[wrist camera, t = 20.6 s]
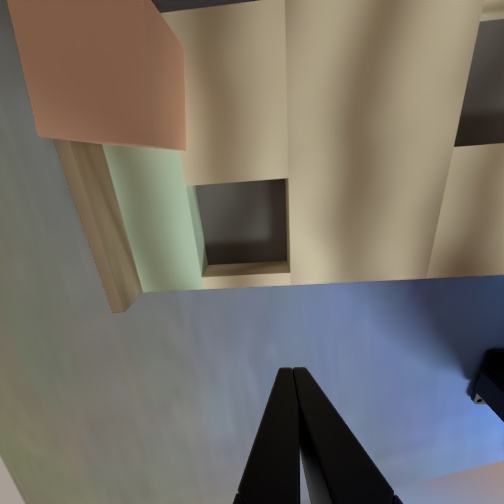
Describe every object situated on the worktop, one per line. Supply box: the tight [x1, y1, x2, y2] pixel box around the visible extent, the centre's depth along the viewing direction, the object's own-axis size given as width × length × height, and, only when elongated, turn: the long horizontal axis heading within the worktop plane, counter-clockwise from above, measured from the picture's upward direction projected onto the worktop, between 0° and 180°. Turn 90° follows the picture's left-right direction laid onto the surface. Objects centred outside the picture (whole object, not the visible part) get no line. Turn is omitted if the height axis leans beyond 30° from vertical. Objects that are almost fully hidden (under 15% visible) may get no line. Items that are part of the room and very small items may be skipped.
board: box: [6, 0, 504, 313], centre depth 14 cm, size 30×16×5 cm, turn 94°
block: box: [7, 0, 186, 151], centre depth 11 cm, size 5×5×4 cm
